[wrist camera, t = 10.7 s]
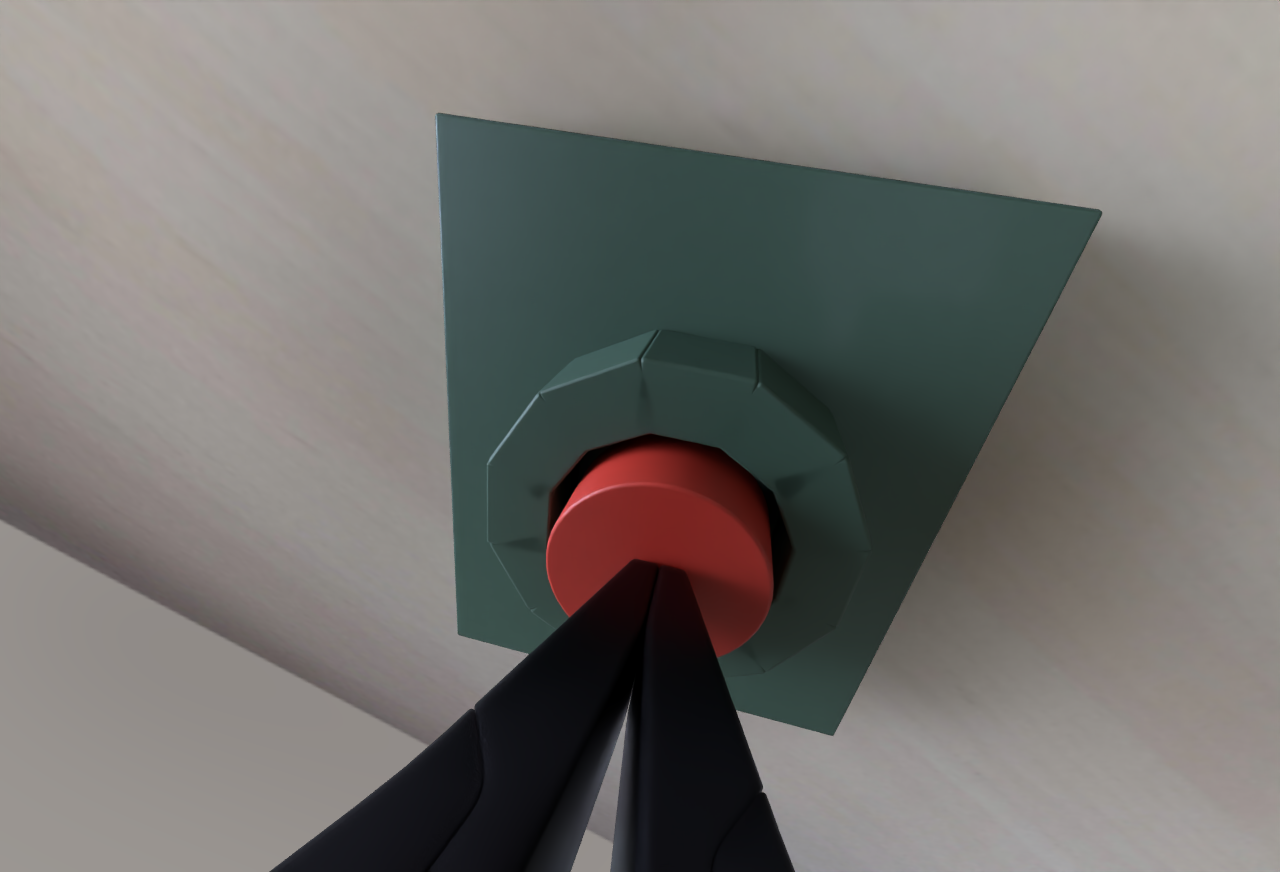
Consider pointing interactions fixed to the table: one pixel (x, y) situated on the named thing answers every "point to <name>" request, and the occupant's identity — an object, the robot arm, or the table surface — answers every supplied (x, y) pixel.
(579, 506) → the button
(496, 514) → the button block
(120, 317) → the table surface
